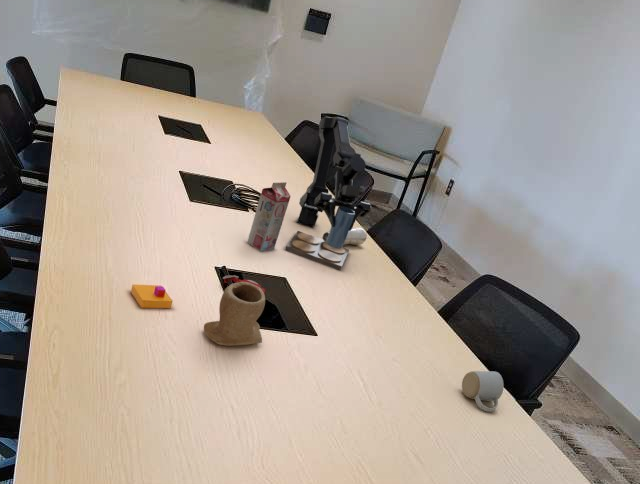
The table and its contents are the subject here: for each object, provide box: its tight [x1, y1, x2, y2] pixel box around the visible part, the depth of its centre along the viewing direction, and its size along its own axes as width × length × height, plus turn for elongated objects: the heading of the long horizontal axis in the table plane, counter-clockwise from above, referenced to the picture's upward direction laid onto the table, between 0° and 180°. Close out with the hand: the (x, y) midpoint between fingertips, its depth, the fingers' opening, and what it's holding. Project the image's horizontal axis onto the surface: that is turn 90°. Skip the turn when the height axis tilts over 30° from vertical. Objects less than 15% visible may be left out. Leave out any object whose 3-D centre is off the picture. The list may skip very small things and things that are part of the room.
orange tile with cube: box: [130, 284, 173, 309], centre depth 169 cm, size 8×8×4 cm
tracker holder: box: [222, 274, 266, 294], centre depth 189 cm, size 12×4×10 cm
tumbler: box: [326, 206, 355, 249], centre depth 225 cm, size 6×6×12 cm
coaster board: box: [284, 230, 350, 271], centre depth 235 cm, size 20×20×2 cm
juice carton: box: [246, 181, 292, 252], centre depth 219 cm, size 7×7×22 cm
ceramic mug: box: [461, 370, 505, 413], centre depth 172 cm, size 11×8×8 cm
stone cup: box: [203, 282, 266, 346], centre depth 161 cm, size 15×12×15 cm
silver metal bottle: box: [322, 227, 367, 246], centre depth 248 cm, size 6×7×20 cm
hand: (341, 228), depth 224 cm, fingers closed on tumbler, 6 cm apart
